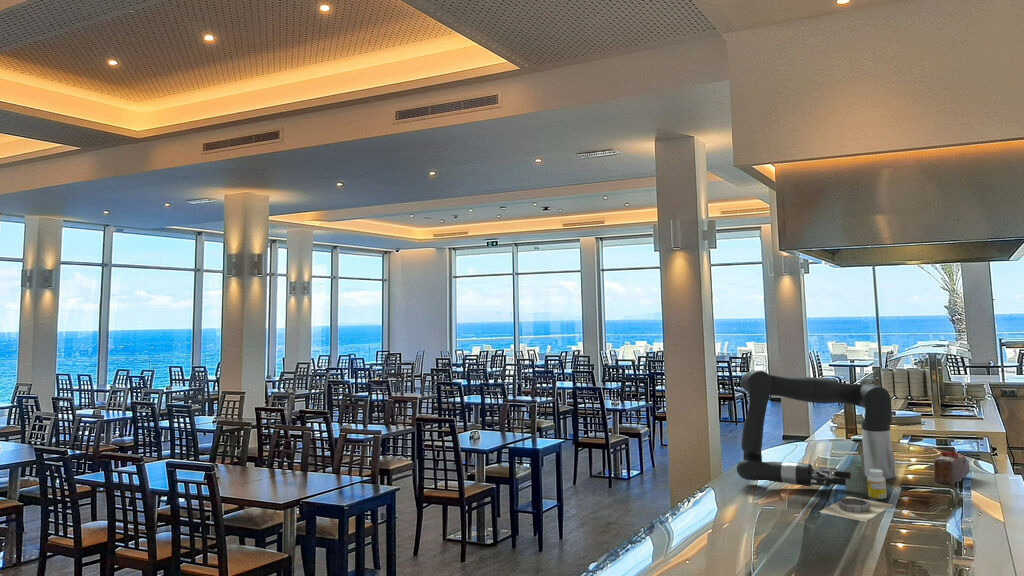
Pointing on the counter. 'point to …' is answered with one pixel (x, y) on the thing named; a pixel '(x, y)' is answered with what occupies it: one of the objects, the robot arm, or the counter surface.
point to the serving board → (874, 510)
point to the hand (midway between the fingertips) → (848, 478)
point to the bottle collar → (847, 502)
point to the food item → (950, 467)
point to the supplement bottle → (876, 484)
